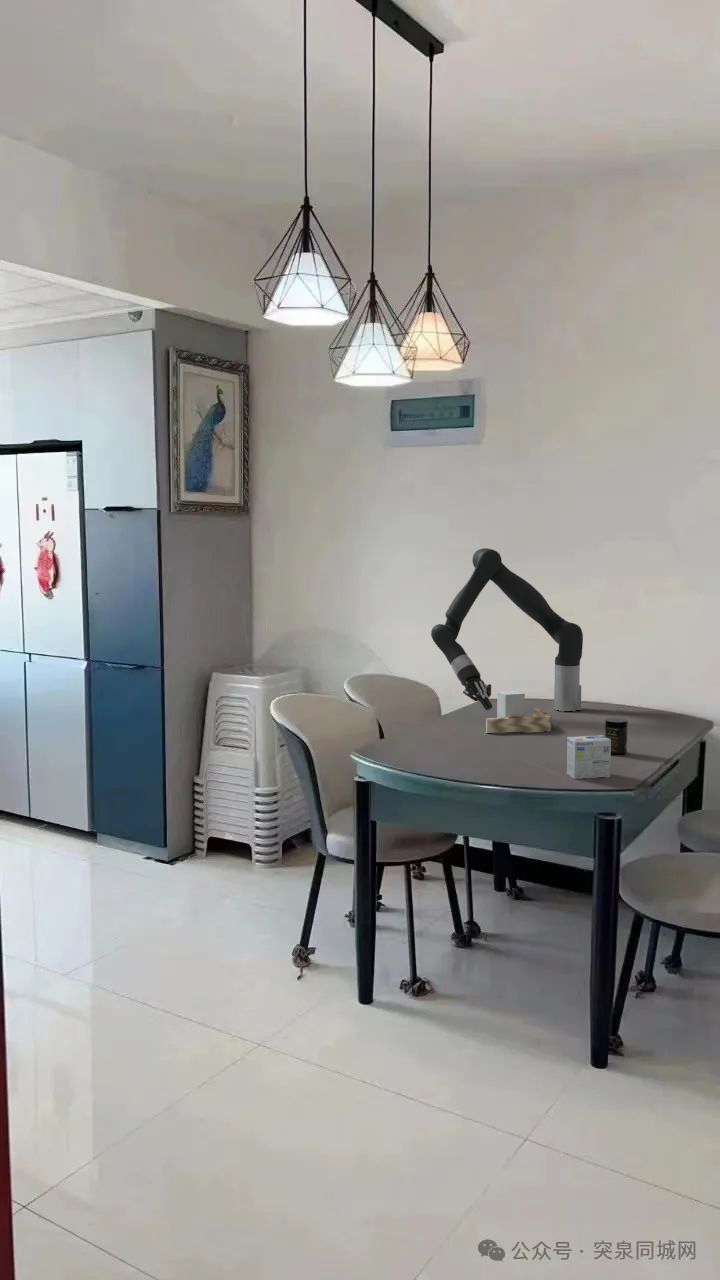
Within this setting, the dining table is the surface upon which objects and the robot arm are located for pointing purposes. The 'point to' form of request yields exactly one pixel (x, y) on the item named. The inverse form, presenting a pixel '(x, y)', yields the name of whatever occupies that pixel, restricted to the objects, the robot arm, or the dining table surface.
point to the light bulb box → (588, 756)
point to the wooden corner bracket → (520, 723)
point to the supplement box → (510, 704)
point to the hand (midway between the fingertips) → (489, 708)
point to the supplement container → (617, 735)
